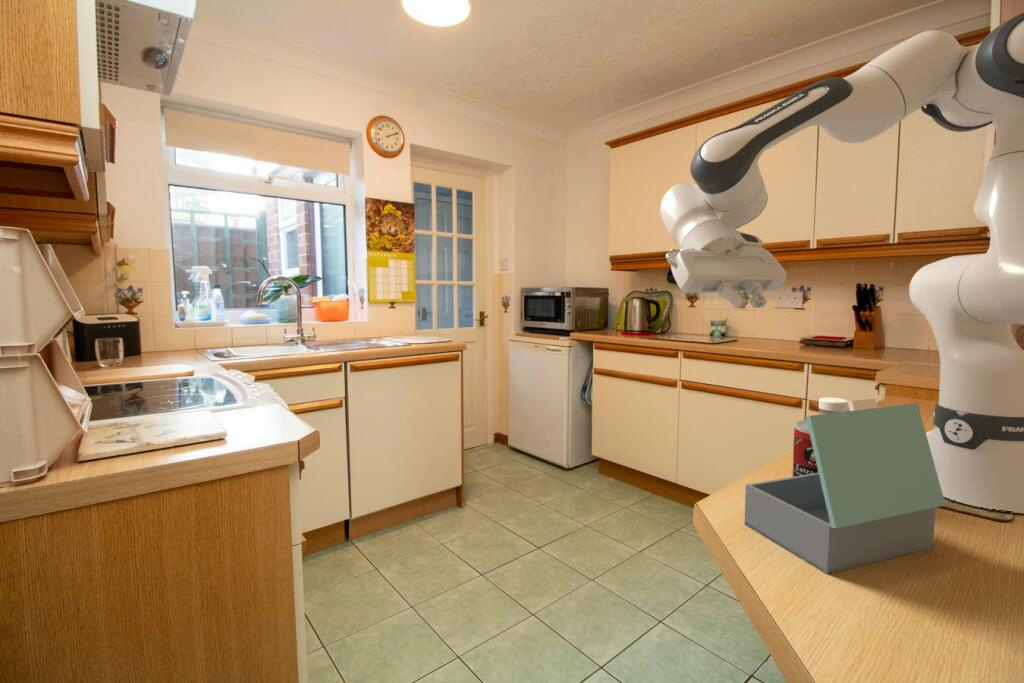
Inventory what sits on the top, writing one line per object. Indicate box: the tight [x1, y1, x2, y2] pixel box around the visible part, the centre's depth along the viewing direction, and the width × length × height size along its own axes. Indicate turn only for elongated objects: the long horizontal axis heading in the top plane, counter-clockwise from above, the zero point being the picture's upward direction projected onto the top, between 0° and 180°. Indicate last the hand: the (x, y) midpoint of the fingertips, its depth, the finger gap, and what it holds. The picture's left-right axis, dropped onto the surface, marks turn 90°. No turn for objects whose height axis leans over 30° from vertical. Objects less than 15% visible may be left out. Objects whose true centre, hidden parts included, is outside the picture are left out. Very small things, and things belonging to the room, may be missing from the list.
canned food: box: [792, 419, 819, 477], centre depth 80 cm, size 8×8×11 cm
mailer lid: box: [805, 398, 947, 528], centre depth 59 cm, size 18×14×1 cm
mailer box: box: [744, 473, 937, 575], centre depth 65 cm, size 18×13×6 cm
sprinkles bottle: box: [818, 396, 850, 415], centre depth 89 cm, size 5×5×14 cm
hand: (752, 305), depth 77 cm, fingers open, 2 cm apart
